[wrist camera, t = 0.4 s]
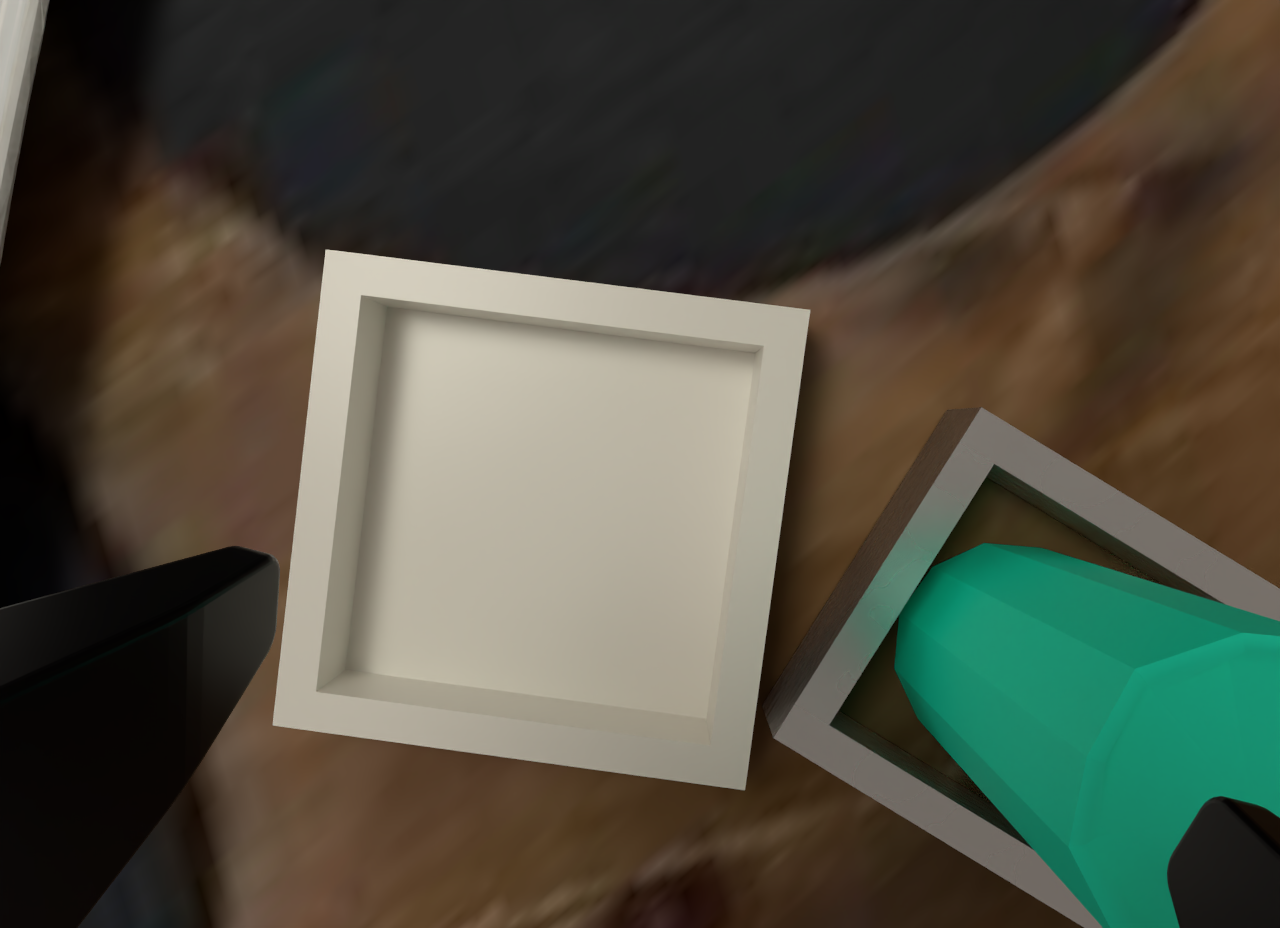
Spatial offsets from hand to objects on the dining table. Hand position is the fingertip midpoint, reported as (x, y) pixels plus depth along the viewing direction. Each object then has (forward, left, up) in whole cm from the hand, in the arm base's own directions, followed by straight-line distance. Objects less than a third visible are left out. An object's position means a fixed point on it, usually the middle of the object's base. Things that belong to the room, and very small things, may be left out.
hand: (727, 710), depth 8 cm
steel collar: (+4, -8, -16) cm, 18 cm away
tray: (-3, +3, -16) cm, 16 cm away
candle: (+4, -8, -16) cm, 18 cm away
